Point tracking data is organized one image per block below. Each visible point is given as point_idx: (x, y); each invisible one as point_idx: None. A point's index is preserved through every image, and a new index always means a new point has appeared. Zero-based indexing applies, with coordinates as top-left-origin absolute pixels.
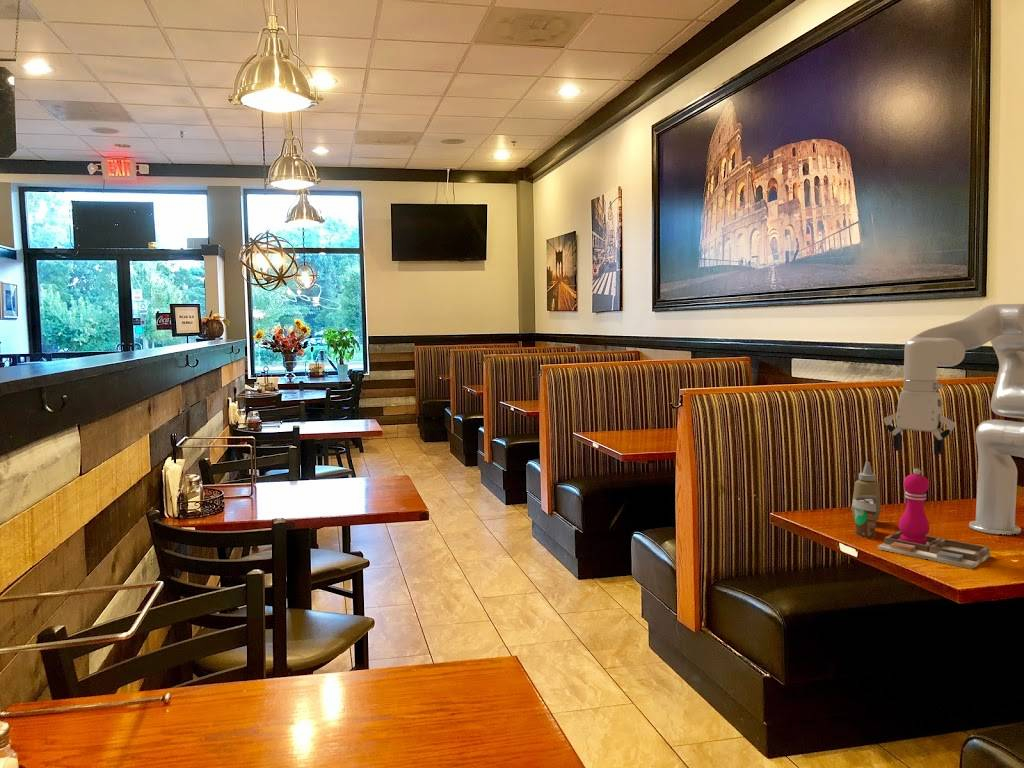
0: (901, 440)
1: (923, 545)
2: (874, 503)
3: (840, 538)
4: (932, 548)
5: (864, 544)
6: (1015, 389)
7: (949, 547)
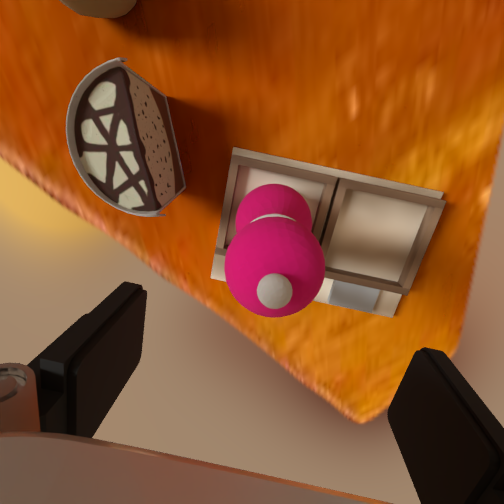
0: (109, 344)
1: None
2: (141, 165)
3: (123, 226)
4: None
5: (179, 247)
6: None
7: (352, 201)
